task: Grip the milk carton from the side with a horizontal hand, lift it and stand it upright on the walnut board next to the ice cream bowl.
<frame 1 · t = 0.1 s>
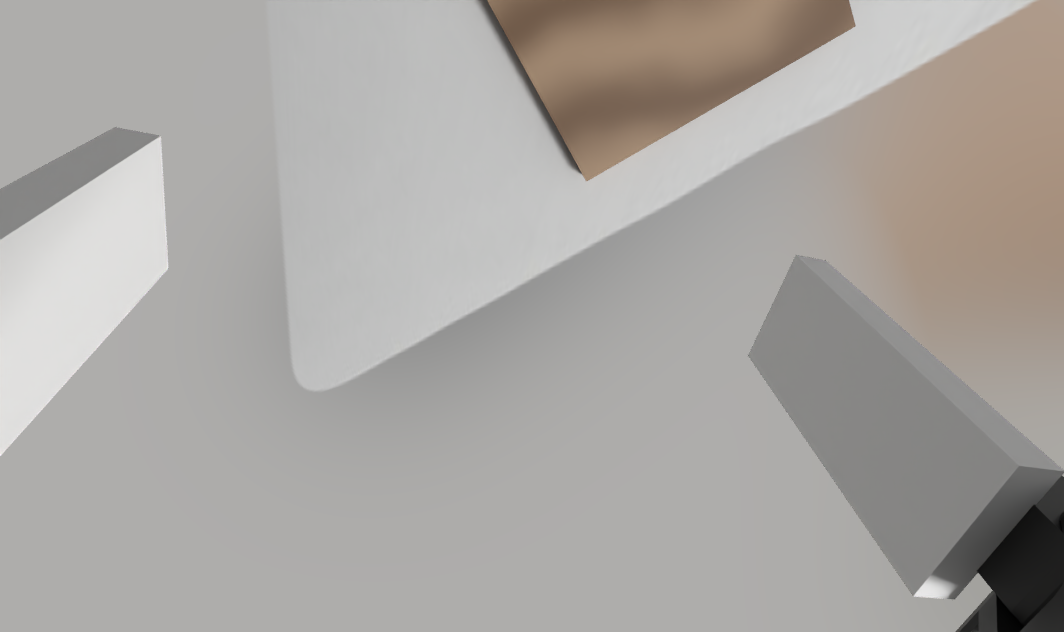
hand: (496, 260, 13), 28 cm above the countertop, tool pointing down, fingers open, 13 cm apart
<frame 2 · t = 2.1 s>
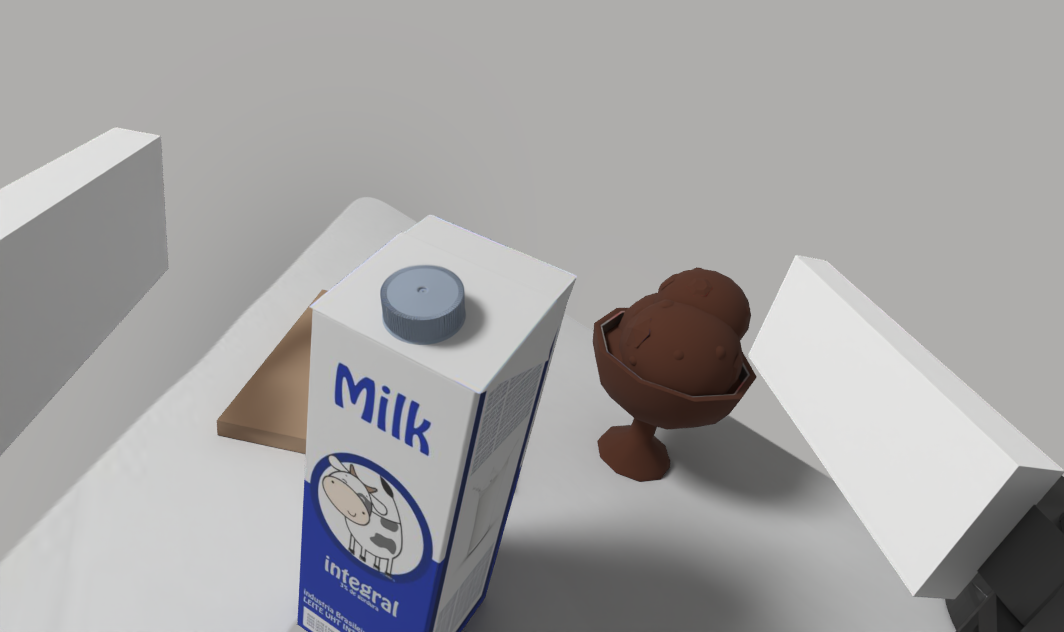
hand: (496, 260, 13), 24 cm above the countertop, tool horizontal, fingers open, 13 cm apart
ice cream bowl: (632, 456, 47), on the countertop
milk carton: (395, 612, 32), on the countertop
walnut board: (395, 383, 48), on the countertop
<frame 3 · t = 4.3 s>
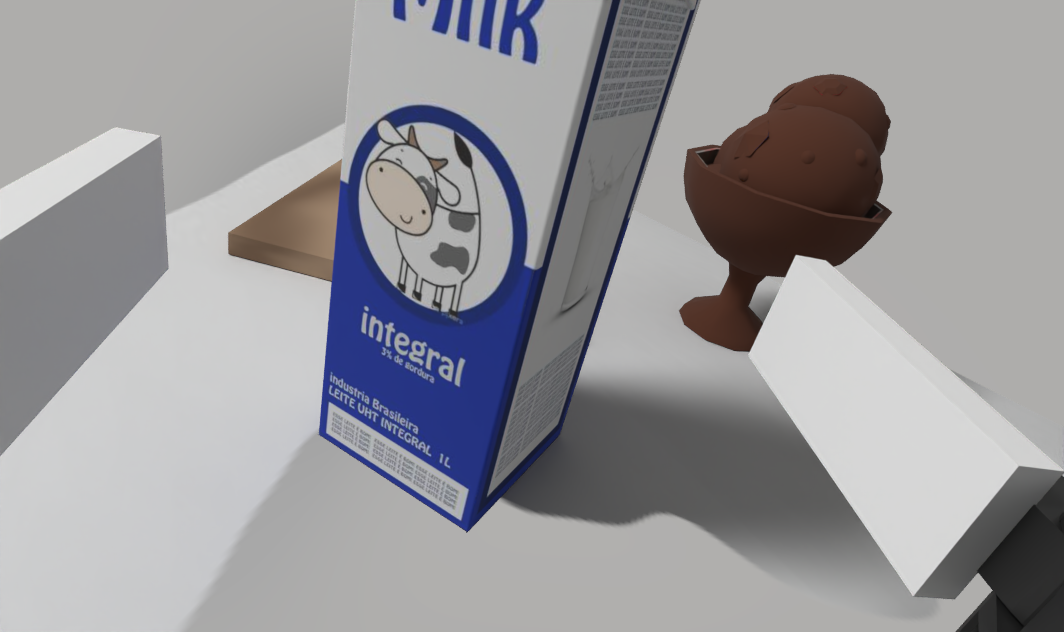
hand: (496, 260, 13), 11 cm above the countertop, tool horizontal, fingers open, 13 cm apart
ice cream bowl: (721, 328, 39), on the countertop
milk carton: (445, 438, 25), on the countertop
walnut board: (439, 236, 41), on the countertop
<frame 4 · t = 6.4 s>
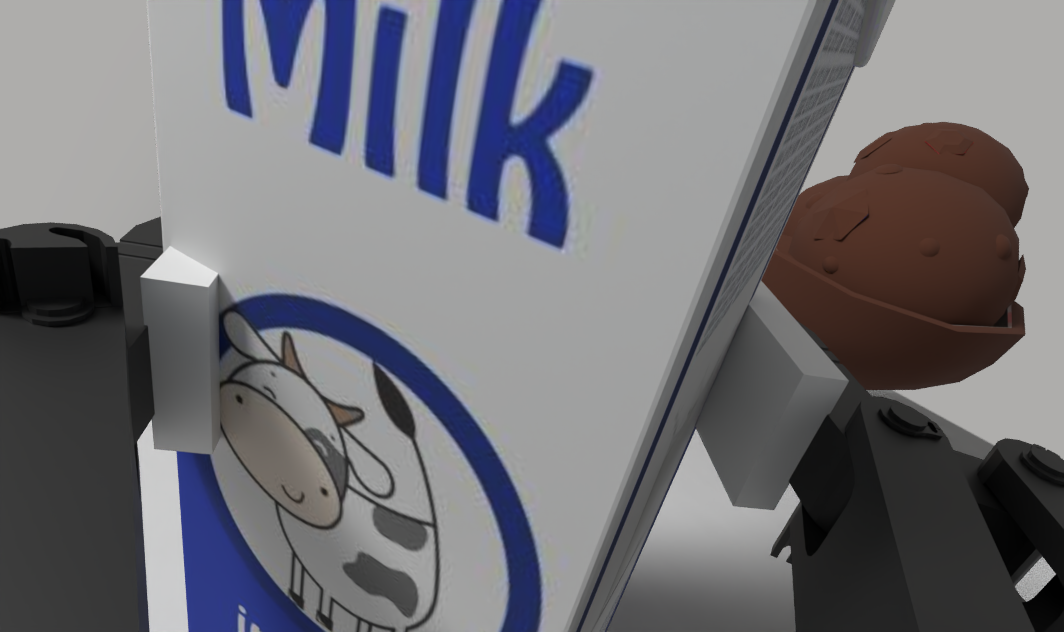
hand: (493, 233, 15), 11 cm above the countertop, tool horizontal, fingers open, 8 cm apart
ice cream bowl: (778, 440, 30), on the countertop
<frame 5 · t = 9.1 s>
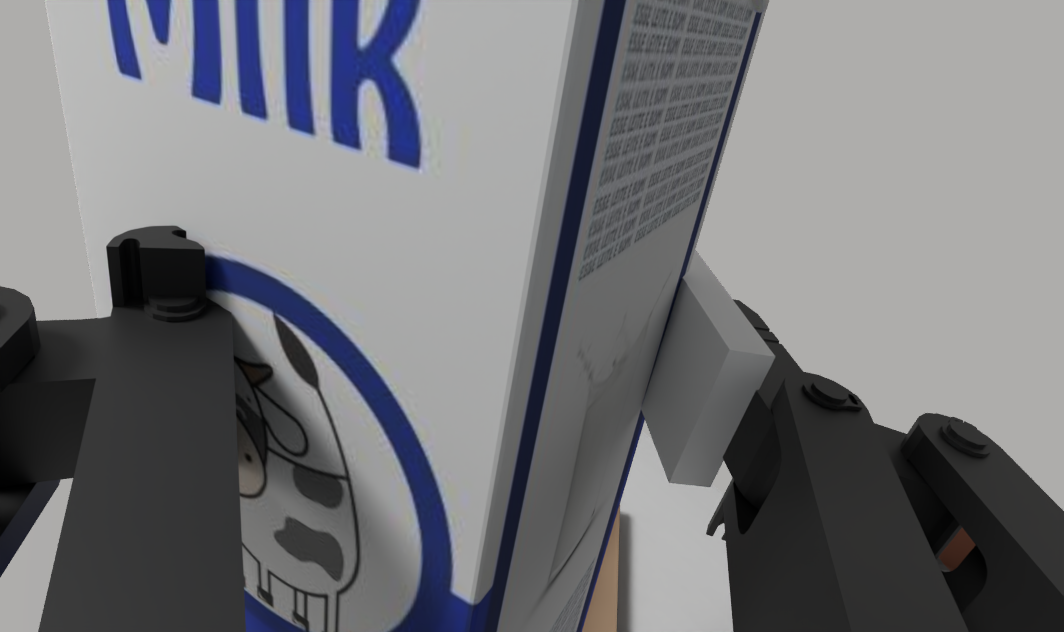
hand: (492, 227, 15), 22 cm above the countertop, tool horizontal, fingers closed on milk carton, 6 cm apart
walnut board: (428, 602, 30), on the countertop
when the fingers open (14 cm above the countertop, at t = 11.6 s): milk carton drops 2 cm, resting on walnut board.
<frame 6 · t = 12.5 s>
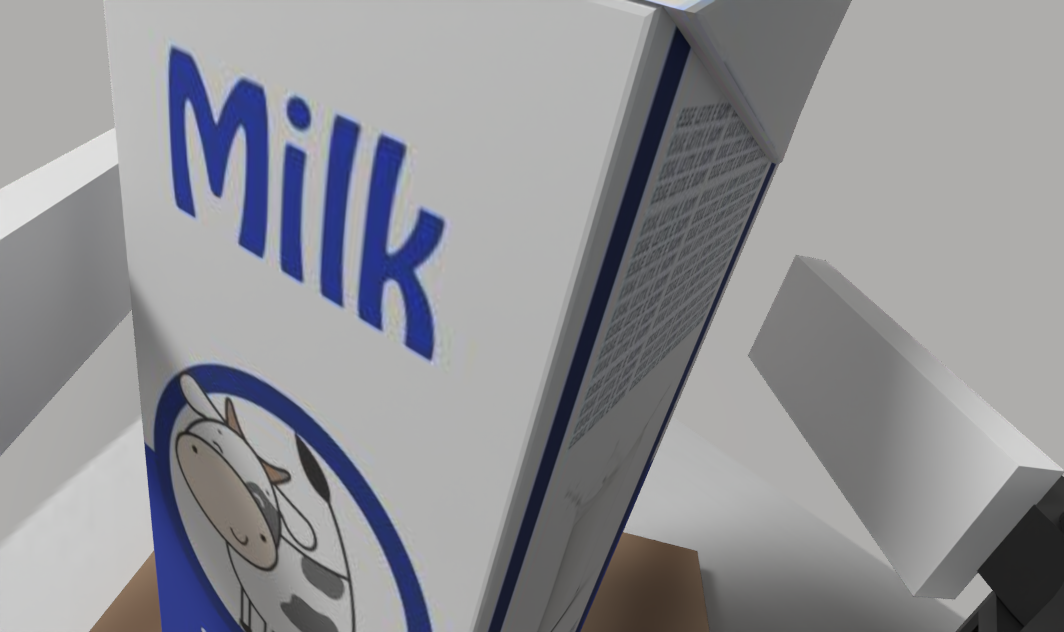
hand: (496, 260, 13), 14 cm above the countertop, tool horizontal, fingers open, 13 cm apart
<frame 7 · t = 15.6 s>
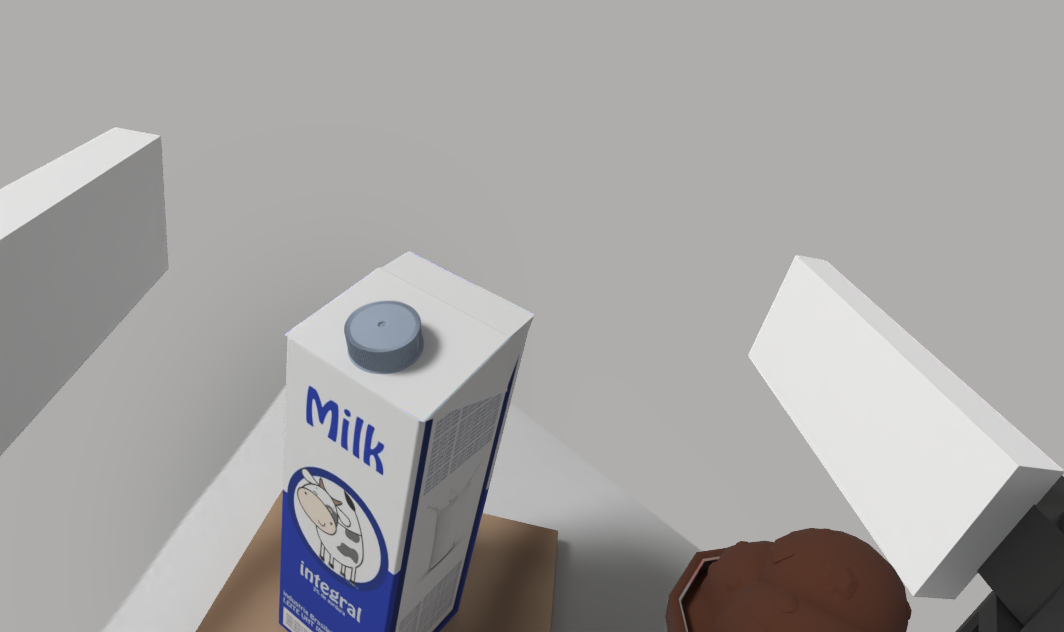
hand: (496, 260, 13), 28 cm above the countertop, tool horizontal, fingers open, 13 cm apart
milk carton: (371, 619, 34), point 1 cm above the countertop, touching walnut board
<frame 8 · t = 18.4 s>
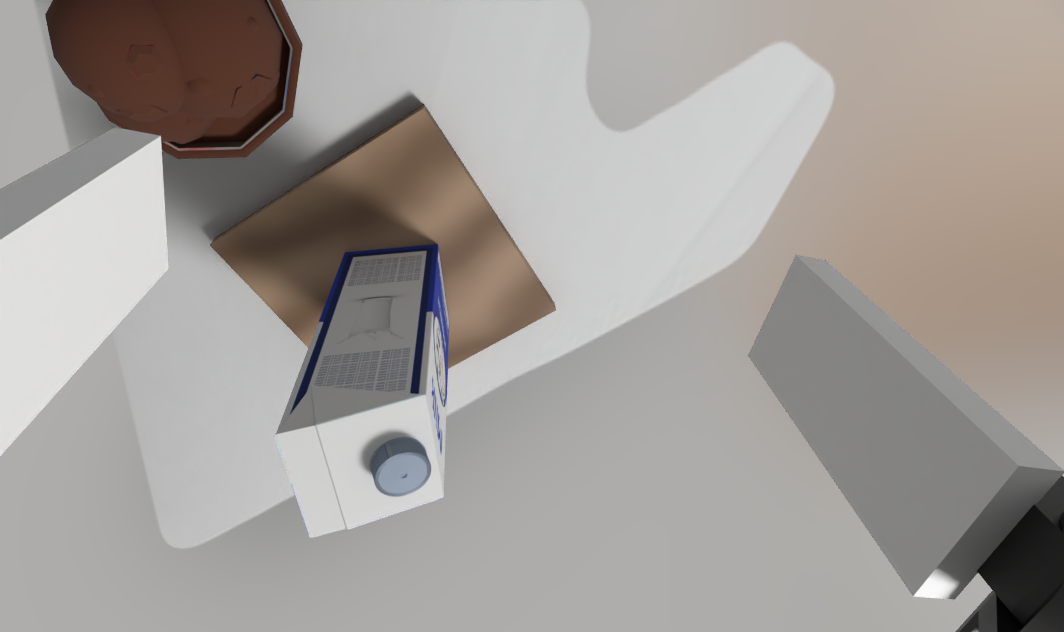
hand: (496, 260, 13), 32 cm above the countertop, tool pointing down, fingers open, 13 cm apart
ice cream bowl: (242, 26, 39), on the countertop
milk carton: (399, 287, 48), point 1 cm above the countertop, touching walnut board
walnut board: (394, 272, 48), on the countertop
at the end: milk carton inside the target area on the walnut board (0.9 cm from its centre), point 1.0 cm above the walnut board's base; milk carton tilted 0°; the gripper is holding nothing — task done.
